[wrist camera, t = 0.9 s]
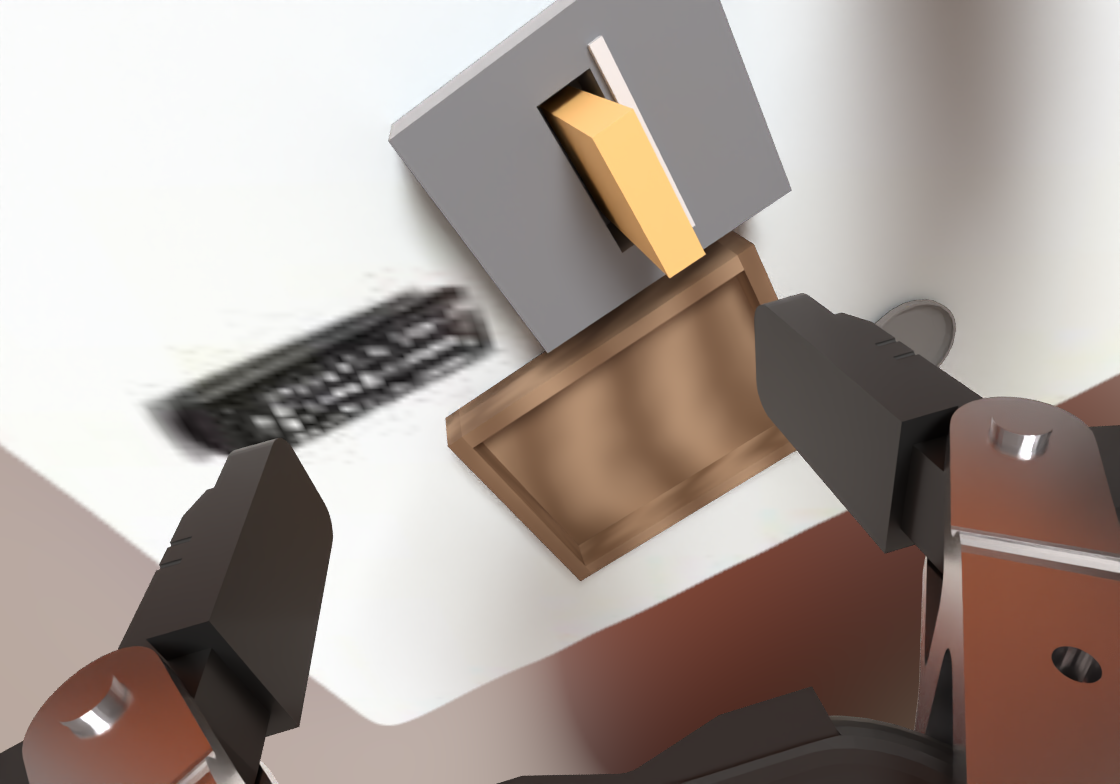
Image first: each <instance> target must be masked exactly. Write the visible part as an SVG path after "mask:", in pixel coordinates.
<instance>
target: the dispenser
mask: <svg viewBox="0 0 1120 784" xmlns="http://www.w3.org/2000/svg"><path fill="white" fill-rule="evenodd" d="M567 85H568V86H571V87H574V88H577V89H580V90H582V91H585V92H588V93H591V94H593V95H596V96H599V97H602V98H604V99H607V100H610V101H613V102H616V103H618V104H621V105H624V106H627V107H629V108H632V109H634V111H635V113H636V115H637V117H638V119H639V121H640V123H641V125H642V127H643V129H644V131H645V133H646V135H647V137H648V139H649V141H650V143H651V145H652V147H653V149H654V151H655V154H656V156H657V158H658V160H659V162H660V164H661V166H662V168H663V170H664V172H665V174H666V176H667V178H668V180H669V182H670V184H671V186H672V188H673V190H674V192H675V194H676V196H677V198H678V200H679V202H680V204H681V206H682V208H683V210H684V212H685V214H686V216H687V218H688V220H689V222H690V224H691V226H692V228H693V230H694V232H695V234H696V236H697V238H698V240H699V242H700V244H701V246H702V248H703V249H705V248H706V247H708V246H709V245H711V244H712V243H714V242H715V241H717V240H718V239H720V238H721V237H723V236H724V235H726V234H727V233H729V232H730V231H732V230H733V229H735V228H736V227H738V226H739V225H741V224H742V223H744V222H745V221H747V220H748V219H750V218H751V217H753V216H754V215H756V214H757V213H759V212H760V211H762V210H763V209H765V208H766V207H768V206H769V205H771V204H772V203H774V202H775V201H777V200H778V199H780V198H781V197H783V196H784V195H786V194H787V193H789V192H790V191H792V190H791V187H790V184H789V182H788V179H787V177H786V174H785V171H784V169H783V166H782V163H781V161H780V158H779V155H778V153H777V150H776V147H775V145H774V142H773V139H772V137H771V134H770V132H769V129H768V126H767V124H766V121H765V118H764V116H763V113H762V110H761V108H760V105H759V102H758V100H757V97H756V94H755V92H754V89H753V87H752V84H751V81H750V79H749V76H748V73H747V71H746V68H745V65H744V63H743V60H742V57H741V55H740V52H739V49H738V47H737V44H736V41H735V39H734V36H733V34H732V31H731V28H730V26H729V23H728V20H727V18H726V15H725V12H724V10H723V7H722V4H721V2H720V0H557V1H555V2H554V3H553V4H551V5H550V6H549V7H547V8H546V9H545V10H543V11H542V12H541V13H539V14H538V15H537V16H535V17H534V18H533V19H531V20H530V21H529V22H527V23H526V24H525V25H523V26H522V27H521V28H519V29H518V30H517V31H515V32H514V33H513V34H511V35H510V36H509V37H507V38H506V39H505V40H503V41H502V42H501V43H500V44H498V45H497V46H496V47H494V48H493V49H492V50H490V51H489V52H488V53H486V54H485V55H484V56H482V57H481V58H480V59H478V60H477V61H476V62H474V63H473V64H472V65H470V66H469V67H468V68H466V69H465V70H464V71H462V72H461V73H460V74H458V75H457V76H456V77H454V78H453V79H452V80H450V81H449V82H448V83H446V84H445V85H444V86H442V87H441V88H440V89H438V90H437V91H436V92H434V93H433V94H432V95H430V96H429V97H428V98H426V99H425V100H424V101H422V102H421V103H420V104H418V105H417V106H416V107H414V108H413V109H412V110H410V111H409V112H408V113H406V114H405V115H404V116H402V117H401V118H400V119H398V120H397V121H396V122H394V123H393V124H392V126H391V130H390V135H389V139H388V141H389V143H390V144H391V145H392V147H393V148H394V149H395V151H396V152H397V153H398V155H399V156H400V157H401V159H402V160H403V161H404V163H405V164H406V165H407V167H408V168H409V169H410V171H411V172H412V173H413V175H414V176H415V177H416V179H417V180H418V181H419V183H420V184H421V185H422V187H423V188H424V189H425V191H426V192H427V193H428V195H429V196H430V197H431V199H432V200H433V201H434V203H435V204H436V205H437V207H438V208H439V209H440V211H441V212H442V213H443V215H444V216H445V217H446V219H447V220H448V221H449V223H450V224H451V225H452V227H453V228H454V229H455V231H456V232H457V233H458V235H459V236H460V237H461V239H462V240H463V241H464V243H465V244H466V245H467V247H468V248H469V249H470V251H471V252H472V253H473V255H474V256H475V257H476V259H477V260H478V261H479V263H480V264H481V265H482V267H483V268H484V269H485V271H486V272H487V273H488V275H489V276H490V277H491V279H492V280H493V281H494V283H495V284H496V285H497V287H498V288H499V289H500V291H501V292H502V293H503V295H504V296H505V297H506V299H507V300H508V301H509V303H510V304H511V305H512V307H513V308H514V309H515V311H516V312H517V313H518V315H519V316H520V317H521V319H522V320H523V321H524V323H525V324H526V325H527V327H528V328H529V329H530V331H531V332H532V333H533V335H534V336H535V337H536V339H537V340H538V341H539V343H540V344H541V345H542V347H543V348H544V349H545V351H546V352H547V353H549V352H550V351H552V350H553V349H555V348H556V347H558V346H559V345H561V344H562V343H564V342H565V341H567V340H568V339H570V338H571V337H573V336H574V335H576V334H577V333H579V332H580V331H582V330H583V329H585V328H586V327H588V326H589V325H591V324H592V323H594V322H595V321H597V320H598V319H600V318H601V317H603V316H604V315H606V314H607V313H609V312H610V311H612V310H613V309H615V308H616V307H618V306H619V305H621V304H622V303H624V302H625V301H627V300H628V299H630V298H631V297H633V296H634V295H636V294H637V293H639V292H640V291H642V290H643V289H645V288H646V287H648V286H649V285H651V284H652V283H654V282H655V281H657V280H658V279H660V278H661V277H663V276H664V275H666V274H665V273H664V272H663V271H662V270H660V269H659V268H658V267H657V266H656V265H655V264H654V263H653V262H652V261H651V260H650V259H649V258H648V257H647V256H646V255H645V254H644V253H643V252H642V251H641V250H640V249H639V248H638V247H637V246H636V245H635V244H634V243H633V242H632V241H631V240H630V239H628V238H627V237H626V236H625V235H624V234H623V233H622V232H621V231H620V230H619V229H618V228H617V227H616V226H615V225H614V224H613V223H612V222H611V221H610V220H609V219H608V218H607V217H606V216H605V215H604V214H603V213H602V212H601V211H600V209H599V207H598V206H597V204H596V202H595V200H594V199H593V197H592V195H591V194H590V192H589V190H588V189H587V187H586V185H585V183H584V182H583V180H582V178H581V177H580V175H579V173H578V171H577V170H576V168H575V166H574V165H573V163H572V161H571V159H570V158H569V156H568V154H567V153H566V151H565V149H564V147H563V146H562V144H561V142H560V141H559V139H558V137H557V135H556V134H555V132H554V130H553V129H552V127H551V125H550V123H549V122H548V120H547V118H546V117H545V115H544V113H543V112H542V110H541V108H540V105H541V104H543V103H544V102H545V101H547V100H548V99H550V98H551V97H552V96H554V95H555V94H556V93H558V92H559V91H560V90H562V89H563V88H565V87H566V86H567Z"/></svg>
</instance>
